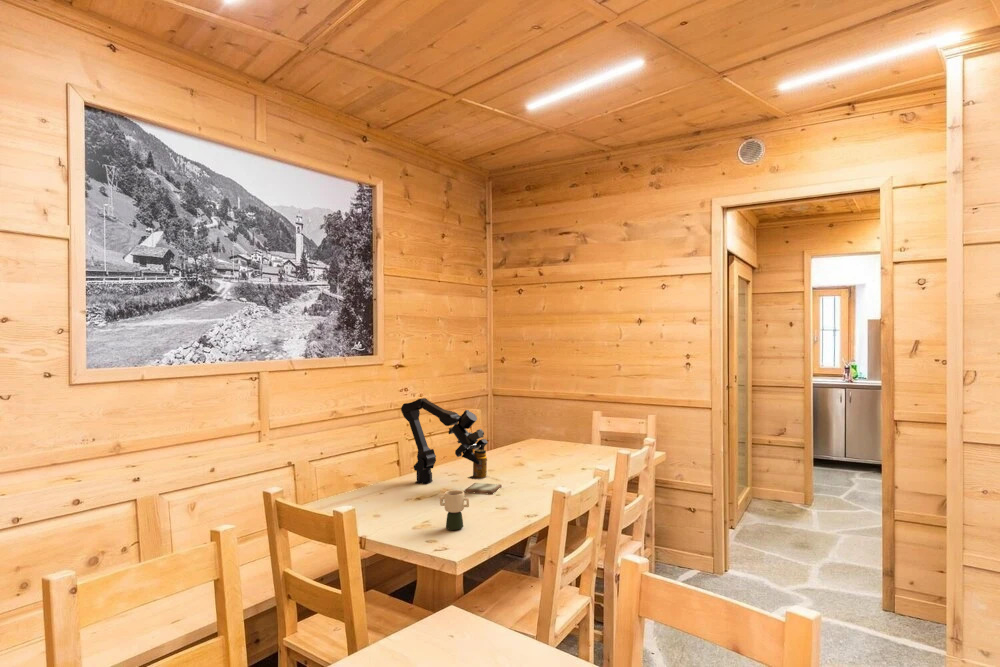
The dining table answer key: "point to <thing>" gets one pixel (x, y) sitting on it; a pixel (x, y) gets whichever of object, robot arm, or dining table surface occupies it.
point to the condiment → (480, 466)
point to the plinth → (483, 488)
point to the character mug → (454, 508)
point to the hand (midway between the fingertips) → (482, 462)
